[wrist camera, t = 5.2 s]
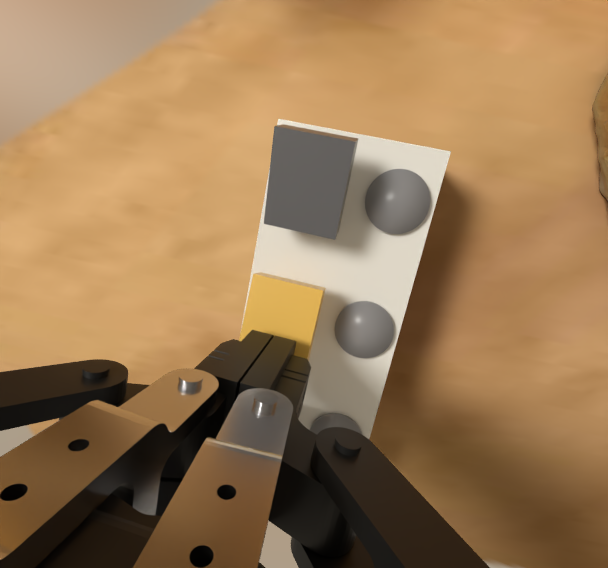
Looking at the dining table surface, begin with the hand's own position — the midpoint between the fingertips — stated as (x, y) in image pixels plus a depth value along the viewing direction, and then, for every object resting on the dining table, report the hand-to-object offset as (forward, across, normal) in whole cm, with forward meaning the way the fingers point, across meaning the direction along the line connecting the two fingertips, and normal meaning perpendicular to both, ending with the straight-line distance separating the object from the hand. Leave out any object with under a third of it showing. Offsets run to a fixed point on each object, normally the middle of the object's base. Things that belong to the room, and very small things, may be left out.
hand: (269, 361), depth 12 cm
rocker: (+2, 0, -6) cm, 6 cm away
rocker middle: (+2, 0, -1) cm, 2 cm away
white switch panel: (+6, -1, -1) cm, 6 cm away
